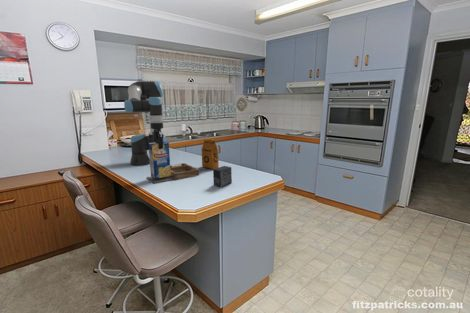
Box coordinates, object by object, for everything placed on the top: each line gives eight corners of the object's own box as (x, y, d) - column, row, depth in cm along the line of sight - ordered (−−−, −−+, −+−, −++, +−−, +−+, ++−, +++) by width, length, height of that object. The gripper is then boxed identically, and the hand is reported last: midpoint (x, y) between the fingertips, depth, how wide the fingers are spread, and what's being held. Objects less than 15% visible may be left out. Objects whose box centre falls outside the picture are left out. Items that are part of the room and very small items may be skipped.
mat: (146, 178, 167) (146, 177, 167) (166, 174, 175) (166, 173, 175) (153, 183, 156) (153, 182, 156) (175, 179, 164) (175, 178, 164)
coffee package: (211, 170, 185) (211, 141, 180) (200, 167, 193) (199, 139, 188) (220, 167, 192) (220, 139, 187) (209, 165, 200) (209, 137, 195)
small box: (224, 181, 162) (224, 165, 159) (232, 183, 158) (232, 167, 155) (212, 185, 154) (212, 168, 151) (220, 187, 150) (220, 170, 147)
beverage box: (150, 176, 164) (148, 143, 159) (166, 173, 171) (164, 141, 166) (154, 178, 159) (151, 144, 154) (170, 175, 165) (168, 143, 161)
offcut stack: (168, 171, 182) (168, 165, 181) (181, 169, 187) (181, 164, 186) (170, 173, 179) (169, 167, 178) (183, 171, 184) (183, 165, 183)
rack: (163, 171, 181) (163, 166, 180) (184, 168, 191) (184, 163, 190) (176, 179, 164) (175, 173, 163) (199, 175, 174) (198, 169, 173)
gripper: (146, 121, 161) (149, 157, 166) (155, 123, 149) (157, 161, 154) (158, 121, 165) (160, 156, 170) (167, 122, 153) (169, 160, 159)
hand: (159, 158), depth 162 cm, fingers closed on beverage box, 2 cm apart
